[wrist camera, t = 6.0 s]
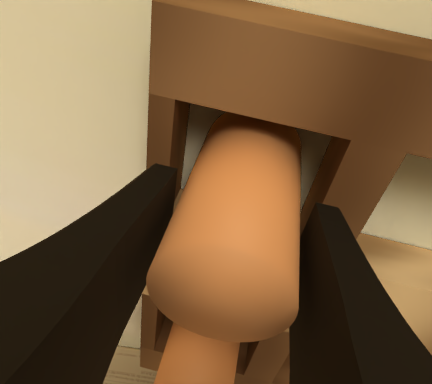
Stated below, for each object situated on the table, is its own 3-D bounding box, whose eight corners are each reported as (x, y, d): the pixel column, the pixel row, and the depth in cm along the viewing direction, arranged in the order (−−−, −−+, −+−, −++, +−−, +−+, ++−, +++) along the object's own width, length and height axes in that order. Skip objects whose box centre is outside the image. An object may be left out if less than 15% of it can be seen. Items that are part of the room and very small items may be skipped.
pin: (251, 291, 17) (231, 437, 12) (238, 327, 19) (216, 464, 14) (185, 274, 17) (140, 412, 12) (179, 311, 19) (138, 441, 14)
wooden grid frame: (649, 86, 9) (721, 124, 7) (356, 388, 20) (360, 427, 19) (177, -15, 9) (152, 0, 8) (152, 332, 21) (140, 366, 19)
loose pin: (315, 121, 11) (323, 273, 6) (284, 198, 13) (273, 356, 8) (215, 94, 11) (151, 225, 7) (199, 175, 13) (141, 318, 9)
